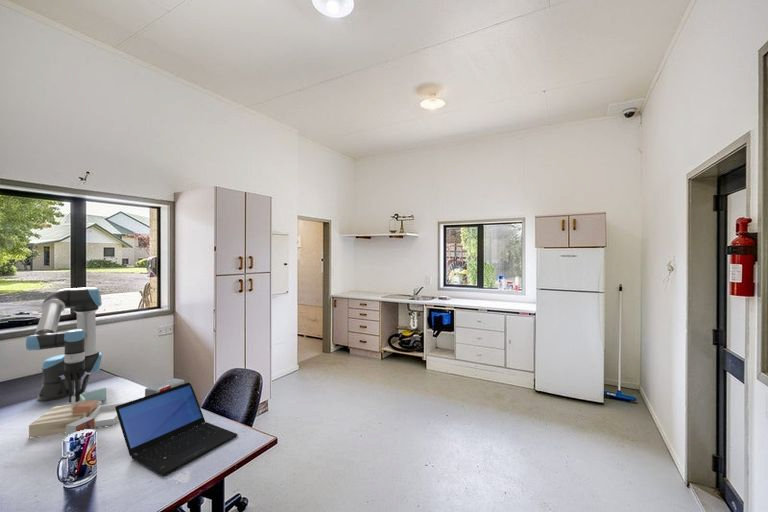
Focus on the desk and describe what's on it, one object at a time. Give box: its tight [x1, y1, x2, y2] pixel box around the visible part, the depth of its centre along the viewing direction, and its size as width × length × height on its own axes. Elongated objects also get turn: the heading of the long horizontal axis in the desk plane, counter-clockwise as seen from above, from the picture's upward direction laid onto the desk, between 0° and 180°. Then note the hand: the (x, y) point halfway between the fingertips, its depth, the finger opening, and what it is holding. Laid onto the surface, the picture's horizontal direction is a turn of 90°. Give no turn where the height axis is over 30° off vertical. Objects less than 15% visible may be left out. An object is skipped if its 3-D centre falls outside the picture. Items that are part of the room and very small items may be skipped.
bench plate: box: [28, 401, 98, 439], centre depth 165 cm, size 20×18×6 cm
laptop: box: [115, 382, 239, 476], centre depth 149 cm, size 33×38×19 cm
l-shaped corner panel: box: [78, 387, 107, 407], centre depth 186 cm, size 12×12×8 cm
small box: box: [65, 417, 95, 437], centre depth 147 cm, size 8×6×10 cm
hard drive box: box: [144, 377, 185, 397], centre depth 165 cm, size 16×8×20 cm, turn 161°
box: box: [88, 401, 128, 429], centre depth 171 cm, size 20×13×4 cm, turn 20°
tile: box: [73, 400, 97, 414], centre depth 168 cm, size 7×7×3 cm
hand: (74, 408), depth 166 cm, fingers closed
